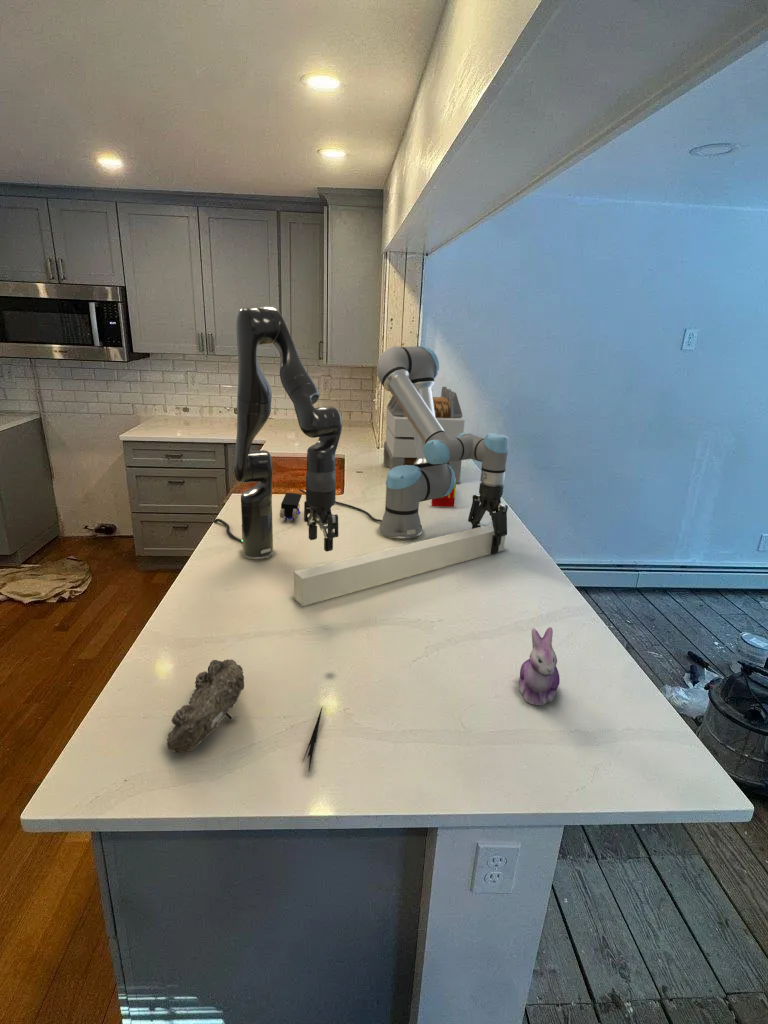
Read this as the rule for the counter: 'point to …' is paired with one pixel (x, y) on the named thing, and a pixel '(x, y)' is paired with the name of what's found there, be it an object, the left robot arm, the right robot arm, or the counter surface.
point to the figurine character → (290, 506)
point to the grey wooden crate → (402, 438)
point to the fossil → (206, 705)
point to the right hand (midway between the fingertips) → (484, 548)
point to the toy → (445, 499)
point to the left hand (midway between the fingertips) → (320, 544)
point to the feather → (313, 740)
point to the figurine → (540, 671)
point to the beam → (391, 564)
